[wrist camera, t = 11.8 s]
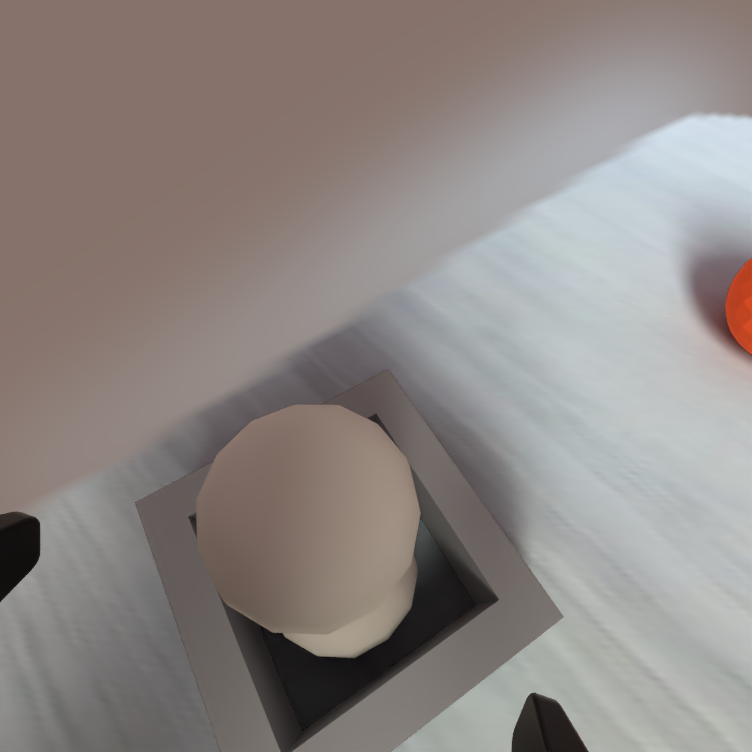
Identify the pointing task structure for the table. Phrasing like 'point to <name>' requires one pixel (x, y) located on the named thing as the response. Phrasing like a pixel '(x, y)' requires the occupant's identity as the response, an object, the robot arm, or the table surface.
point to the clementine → (741, 307)
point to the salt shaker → (312, 528)
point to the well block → (403, 679)
